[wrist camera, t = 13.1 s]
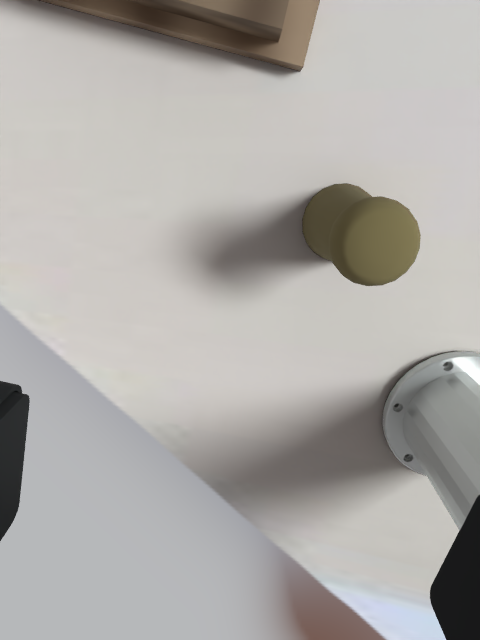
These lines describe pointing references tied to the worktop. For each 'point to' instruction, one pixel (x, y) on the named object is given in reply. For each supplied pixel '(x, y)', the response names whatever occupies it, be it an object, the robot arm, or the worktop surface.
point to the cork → (361, 234)
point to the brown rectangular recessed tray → (219, 23)
